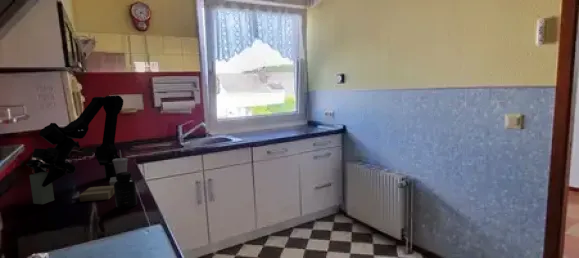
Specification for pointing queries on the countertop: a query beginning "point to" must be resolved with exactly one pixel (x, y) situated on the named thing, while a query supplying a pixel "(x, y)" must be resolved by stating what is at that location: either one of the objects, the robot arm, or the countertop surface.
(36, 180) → the sage block
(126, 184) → the supplement bottle
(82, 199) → the oak block
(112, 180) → the grey tile block
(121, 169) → the smoothie
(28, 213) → the countertop surface
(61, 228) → the countertop surface
